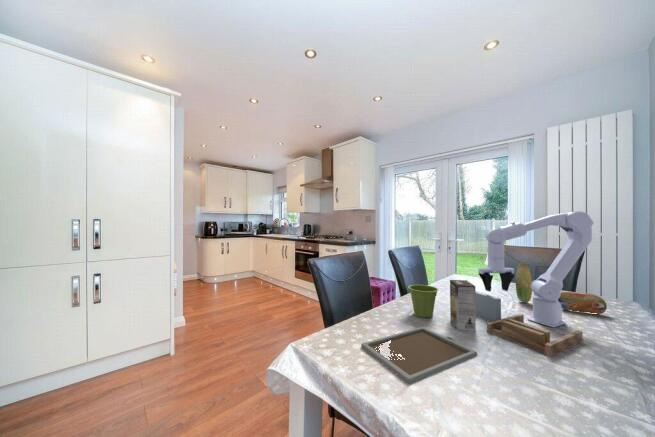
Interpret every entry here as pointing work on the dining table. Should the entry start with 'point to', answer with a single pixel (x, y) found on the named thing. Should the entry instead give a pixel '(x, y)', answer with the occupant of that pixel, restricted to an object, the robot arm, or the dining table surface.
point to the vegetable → (523, 283)
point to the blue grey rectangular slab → (488, 306)
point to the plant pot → (423, 299)
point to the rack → (549, 347)
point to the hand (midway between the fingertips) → (496, 290)
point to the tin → (582, 302)
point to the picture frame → (419, 353)
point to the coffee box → (463, 304)
